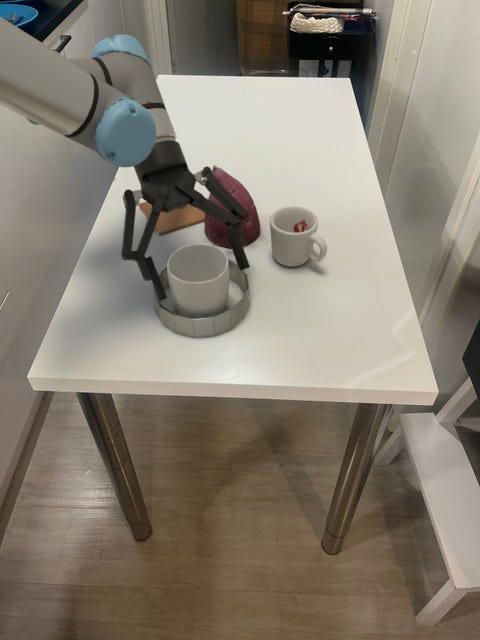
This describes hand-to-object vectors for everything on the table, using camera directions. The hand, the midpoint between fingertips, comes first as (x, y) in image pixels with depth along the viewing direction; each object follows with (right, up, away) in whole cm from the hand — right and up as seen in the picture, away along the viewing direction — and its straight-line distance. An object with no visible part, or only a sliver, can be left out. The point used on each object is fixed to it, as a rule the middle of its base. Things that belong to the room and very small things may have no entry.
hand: (205, 284), depth 75 cm
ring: (-1, -3, +5) cm, 5 cm away
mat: (-8, +16, +22) cm, 28 cm away
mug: (-1, -3, +5) cm, 6 cm away
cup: (+15, +5, +12) cm, 20 cm away
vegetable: (+4, +11, +18) cm, 21 cm away
